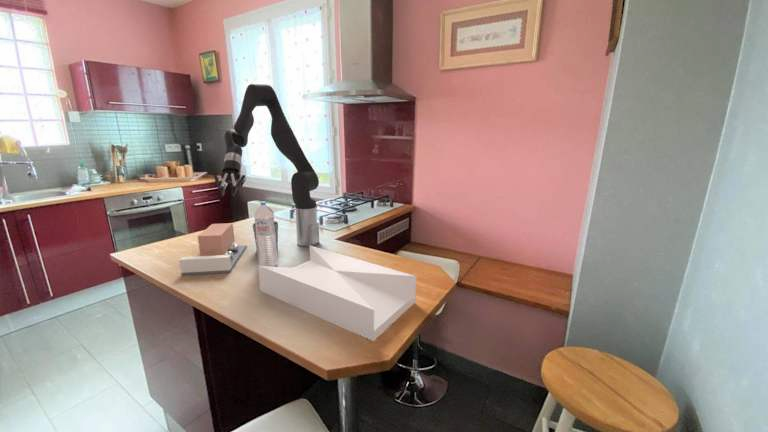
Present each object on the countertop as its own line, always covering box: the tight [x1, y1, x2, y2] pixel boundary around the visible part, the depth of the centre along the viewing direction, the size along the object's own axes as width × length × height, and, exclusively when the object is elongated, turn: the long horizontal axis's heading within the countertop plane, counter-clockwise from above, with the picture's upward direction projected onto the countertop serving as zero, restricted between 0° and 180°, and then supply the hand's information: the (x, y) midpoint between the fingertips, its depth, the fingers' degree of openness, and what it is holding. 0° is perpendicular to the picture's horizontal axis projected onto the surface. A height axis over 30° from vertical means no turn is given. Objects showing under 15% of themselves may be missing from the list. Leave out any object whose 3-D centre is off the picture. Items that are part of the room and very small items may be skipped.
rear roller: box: [227, 243, 239, 251], centre depth 131 cm, size 13×3×3 cm, turn 100°
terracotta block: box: [197, 222, 236, 256], centre depth 126 cm, size 16×8×8 cm, turn 10°
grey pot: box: [252, 220, 279, 251], centre depth 135 cm, size 10×10×12 cm
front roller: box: [197, 251, 234, 258], centre depth 123 cm, size 13×3×3 cm, turn 100°
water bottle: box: [253, 201, 278, 267], centre depth 118 cm, size 7×7×25 cm
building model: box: [257, 245, 417, 342], centre depth 98 cm, size 45×22×10 cm, turn 57°
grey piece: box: [178, 244, 248, 276], centre depth 124 cm, size 26×16×6 cm, turn 10°
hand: (227, 194), depth 140 cm, fingers open, 3 cm apart
